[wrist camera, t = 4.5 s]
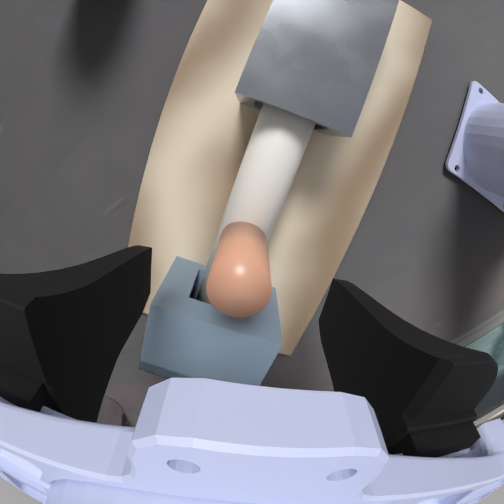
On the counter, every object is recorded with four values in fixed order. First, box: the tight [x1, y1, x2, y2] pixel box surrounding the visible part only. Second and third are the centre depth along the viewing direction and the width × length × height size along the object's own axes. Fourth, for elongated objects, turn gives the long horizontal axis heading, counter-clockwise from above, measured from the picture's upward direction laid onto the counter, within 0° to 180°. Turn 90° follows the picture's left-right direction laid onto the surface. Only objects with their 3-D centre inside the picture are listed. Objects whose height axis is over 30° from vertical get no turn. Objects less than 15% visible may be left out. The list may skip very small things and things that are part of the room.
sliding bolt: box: [196, 104, 316, 318], centre depth 13 cm, size 3×18×7 cm, turn 160°
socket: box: [139, 256, 283, 386], centre depth 18 cm, size 7×5×6 cm
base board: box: [128, 0, 432, 356], centre depth 18 cm, size 14×28×1 cm, turn 160°
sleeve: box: [235, 0, 399, 138], centre depth 12 cm, size 5×11×5 cm, turn 160°
